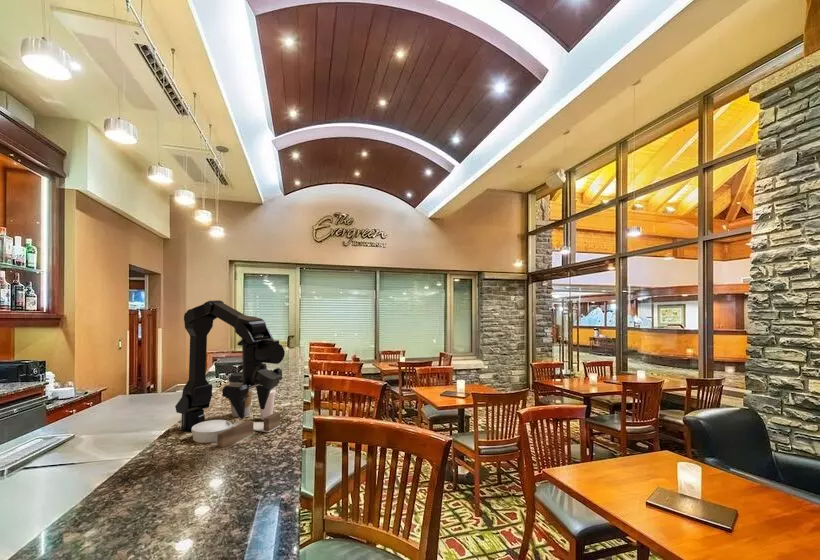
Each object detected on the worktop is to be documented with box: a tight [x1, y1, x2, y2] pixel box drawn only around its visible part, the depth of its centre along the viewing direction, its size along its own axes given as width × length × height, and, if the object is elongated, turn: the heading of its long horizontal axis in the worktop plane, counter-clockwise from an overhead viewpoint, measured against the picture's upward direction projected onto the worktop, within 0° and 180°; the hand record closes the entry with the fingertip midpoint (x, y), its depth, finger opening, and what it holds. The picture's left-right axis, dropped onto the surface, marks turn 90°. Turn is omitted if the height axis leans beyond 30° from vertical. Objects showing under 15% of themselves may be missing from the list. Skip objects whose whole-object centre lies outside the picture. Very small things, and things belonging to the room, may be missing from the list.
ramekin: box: [190, 419, 233, 444], centre depth 127 cm, size 11×11×5 cm
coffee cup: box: [228, 371, 253, 418], centre depth 151 cm, size 8×8×15 cm
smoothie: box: [258, 388, 277, 421], centre depth 147 cm, size 6×6×14 cm
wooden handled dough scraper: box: [216, 420, 254, 449], centre depth 126 cm, size 16×13×4 cm
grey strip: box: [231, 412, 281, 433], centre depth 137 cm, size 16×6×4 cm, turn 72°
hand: (252, 413), depth 122 cm, fingers open, 9 cm apart
